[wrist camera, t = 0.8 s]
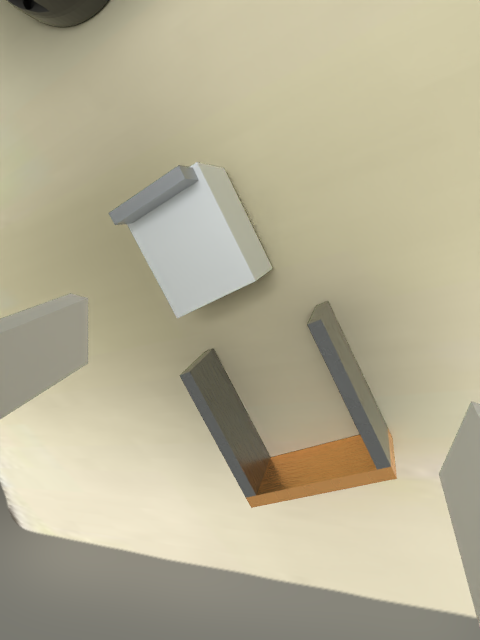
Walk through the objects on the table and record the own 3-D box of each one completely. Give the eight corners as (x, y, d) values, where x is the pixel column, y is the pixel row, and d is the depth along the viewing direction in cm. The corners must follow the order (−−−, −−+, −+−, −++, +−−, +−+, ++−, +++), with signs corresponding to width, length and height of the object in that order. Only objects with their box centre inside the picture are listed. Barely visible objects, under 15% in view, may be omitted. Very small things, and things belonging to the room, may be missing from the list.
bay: (204, 352, 41) (179, 375, 36) (327, 300, 35) (321, 319, 30) (265, 468, 43) (251, 507, 38) (392, 437, 37) (396, 478, 32)
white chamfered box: (160, 210, 38) (102, 213, 30) (227, 168, 35) (182, 158, 26) (206, 299, 39) (163, 326, 31) (274, 267, 36) (246, 287, 28)
